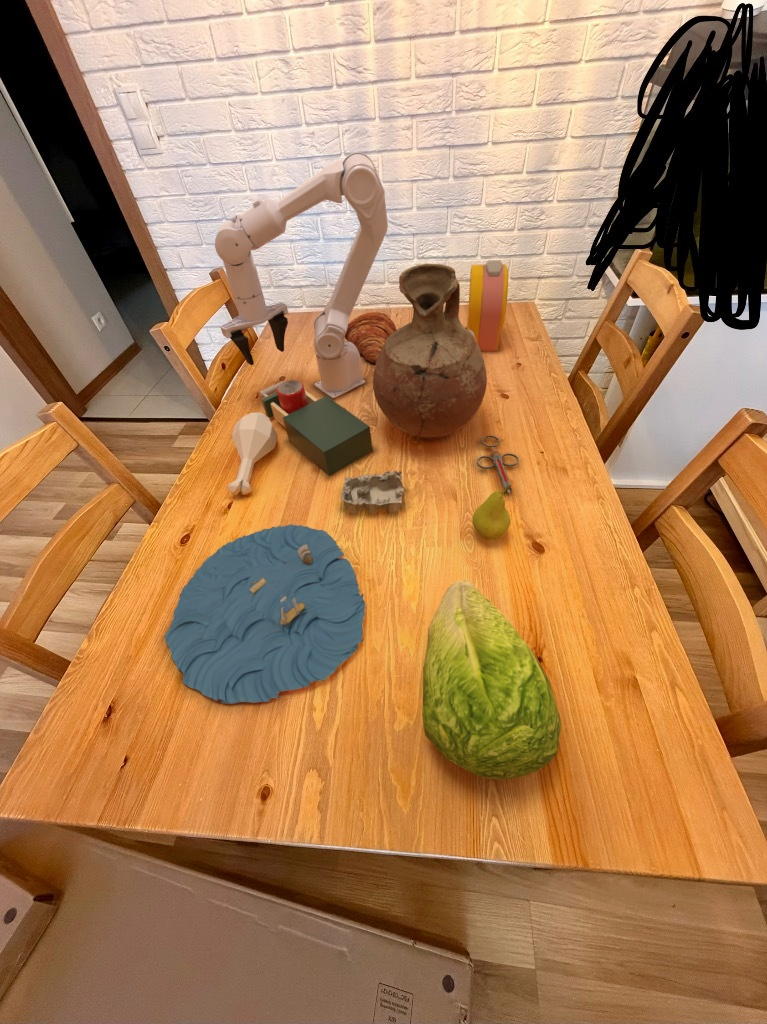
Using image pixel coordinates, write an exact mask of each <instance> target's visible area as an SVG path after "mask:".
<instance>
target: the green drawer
mask: <svg viewBox="0 0 767 1024" xmlns="http://www.w3.org/2000/svg"><path fill="white" fill-rule="evenodd" d="M283 382H285V381H284V380H281V381H278V382H277V383H275V384H273V385H271V386H269V387H266V388H264V389H262V390H260V391H259V392H258V393H259V396H260V397H261V403H262V407H263V409H264V413H265V415H266V416H267V417H268V418H269V419H271V418H273V417H274V419H275V420H276V421H277V422H278V423H279V424H281V425H282V426H283V427H284V428H285V425H284V421H283V417H285V416H287V415H289V414H287V413H286V412H285V411H284V410H282V409H281V406H280V402H279V399H278V395H277V392H276V389H277V387H278V386H279V385H280V384H282V383H283ZM305 394H306V398H307V402H308V405H309V404H311V403H313V402H315V401H317V400H319V399H317V398H316V397H315V396H314V395H312V394H311V393H310V392H308V391H307V390H305Z"/></svg>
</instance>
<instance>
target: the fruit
mask: <svg viewBox="0 0 767 1024" xmlns="http://www.w3.org/2000/svg"><path fill="white" fill-rule="evenodd" d="M509 488H512V485H511V484H510V485H509V486H507V487H506V488H505V489H504V488H503V490H502V491H501V490H496V491H494V492H492V493H491V494H490V495H488V497H487V498H486V499H485V501H484V502H483V503H481V504H480V505H479V506H478V507H477V508H476V509H475V511H474V512H473V515H472V518H471V519H472V522H471V523H472V526H473V528H474V530H475V532H476V533H477V534H478V535H479V536H481V537H482V538H484V539H486V540H489V541H495V540H498V539H501V538H502V537H504V536H505V534H506V533H507V532H508V530H509V529H510V526H511V516H510V513H509V511H508V509H507V508H506V500H505V498H504V496H505V493H506V492H505V491H506V490H508V489H509Z"/></svg>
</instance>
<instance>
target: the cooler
mask: <svg viewBox="0 0 767 1024" xmlns="http://www.w3.org/2000/svg"><path fill="white" fill-rule="evenodd" d="M283 421H284V425H285V427H284V428H285V431H286V435H287V438H288V441H289V443H290V444H292V445H293V446H294V447H295V448H296V449H297V450H298V451H299V452H301V453H302V454H303V455H304V456H305V457H306V458H308V460H309V461H311V462H312V463H313V464H314V465H315V466H317V467H318V468H319V469H320V470H321V471H322V472H323V473H325V475H327V476H328V477H331V476H333V475H334V474H336V473H339V472H340V471H342V470H344V469H345V468H346V467H348V466H351V465H353V463H355V462H357V461H358V460H360V459H361V458H362V459H363V457H366V456H367V455H369V454H370V453H372V452H373V451H374V450H373V441H372V433H371V426H370V425H368V424H367V423H366V422H364V421H363V420H361V419H360V418H359V417H358V416H355V414H353V413H352V412H350V411H349V410H347V409H346V408H344V406H341V405H340V404H339V403H337V402H336V401H334V400H333V398H331V397H330V396H328V395H325V396H323V397H320V398H319V399H318V400H317V401H315V402H313V403H311V404H309V405H307V406H305V407H303V408H301V409H299V410H297V411H295V412H293V413H291V414H289V415H287V416H285V417H283Z"/></svg>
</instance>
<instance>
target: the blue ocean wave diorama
mask: <svg viewBox="0 0 767 1024" xmlns="http://www.w3.org/2000/svg"><path fill="white" fill-rule="evenodd" d="M344 556H345V553H344V552H343V550H342V549H341V548H340V546H339V545H338V544H337V541H336V540H335V539H334V538H333V537H332V536H331V535H330V533H328V532H327V531H326V530H324V529H316V528H311V527H309V526H307V525H305V526H304V525H300V524H299V525H297V524H286V525H283V526H282V525H278V526H272V527H270V528H263V529H262V530H258V531H254V532H253V533H250V534H248V535H242V536H241V537H237V538H236V539H234V540H232V541H229V542H227V543H226V544H223V545H222V546H221V547H219V548H218V549H217V550H216V552H214V553H213V554H212V555H210V556H208V557H207V558H206V559H205V560H204V561H203V562H202V564H201V566H199V567H198V569H196V570H195V572H194V574H193V576H192V577H191V578H190V579H189V580H188V582H187V583H186V585H184V587H182V589H181V592H180V594H179V599H178V602H177V605H176V607H175V608H174V610H173V617H172V620H171V624H170V625H169V628H168V629H167V631H166V633H165V634H164V641H165V644H166V646H167V647H168V649H169V650H170V654H171V655H170V656H171V659H172V661H173V662H174V664H175V666H176V669H177V671H180V672H181V673H182V682H181V683H182V684H184V685H185V686H187V687H188V688H190V689H193V690H197V691H198V692H199V693H201V695H203V696H205V697H207V698H210V699H212V700H213V701H215V702H216V701H218V700H219V701H220V702H221V704H230V705H231V704H238V703H242V702H243V703H251V704H253V703H255V704H256V703H268V702H270V701H271V699H280V698H281V697H280V696H279V694H280V693H281V692H285V691H296V690H298V689H304V688H306V687H310V686H311V683H312V682H319V681H321V682H324V681H325V680H327V679H328V678H329V677H330V676H331V675H332V674H334V673H335V671H336V670H337V668H338V667H339V666H340V665H341V664H343V663H344V662H345V661H347V660H348V659H350V657H351V656H352V655H353V654H355V652H357V650H358V649H359V644H361V643H362V642H363V641H364V638H363V634H364V628H363V623H364V619H365V615H366V610H365V609H366V601H365V600H364V593H362V594H360V593H361V590H360V588H359V587H360V586H359V584H358V583H359V582H358V580H357V575H356V572H355V570H354V567H353V566H352V564H351V562H350V561H349V560H348V558H343V557H344Z"/></svg>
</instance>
